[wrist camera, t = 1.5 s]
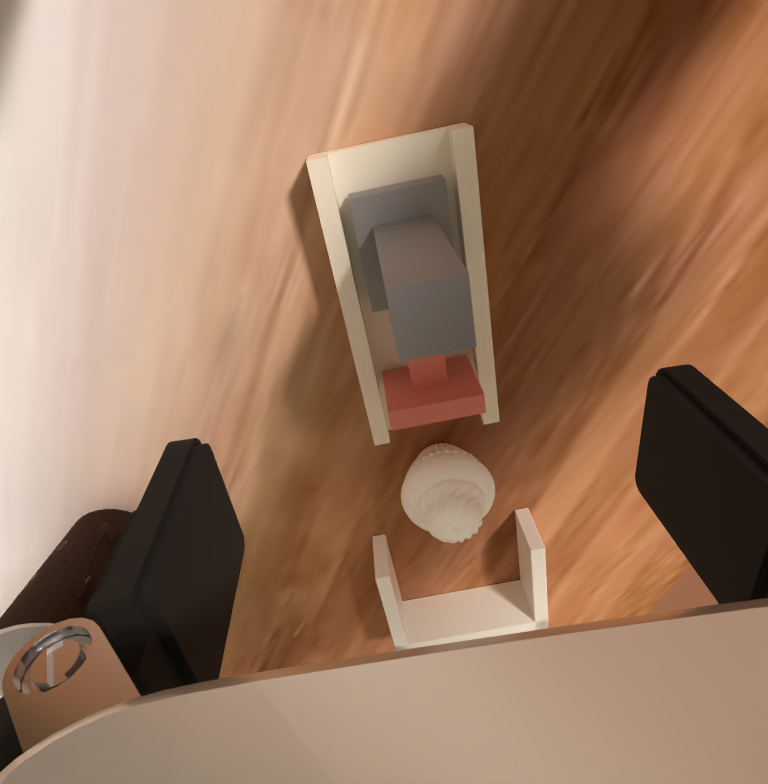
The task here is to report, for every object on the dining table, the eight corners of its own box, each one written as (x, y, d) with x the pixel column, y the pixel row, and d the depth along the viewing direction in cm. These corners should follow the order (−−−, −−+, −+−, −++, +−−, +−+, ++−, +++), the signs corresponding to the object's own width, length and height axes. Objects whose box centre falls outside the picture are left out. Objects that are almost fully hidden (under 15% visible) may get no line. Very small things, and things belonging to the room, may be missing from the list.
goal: (527, 507, 41) (545, 547, 37) (532, 585, 46) (548, 627, 42) (372, 536, 41) (375, 578, 38) (392, 610, 46) (397, 654, 42)
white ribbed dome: (412, 415, 36) (427, 485, 30) (496, 434, 37) (526, 504, 31) (384, 485, 39) (393, 561, 33) (463, 500, 40) (485, 576, 34)
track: (463, 122, 27) (473, 126, 25) (491, 403, 36) (499, 421, 34) (308, 155, 27) (305, 161, 25) (372, 425, 36) (374, 445, 34)
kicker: (444, 173, 27) (496, 223, 18) (468, 371, 33) (515, 481, 24) (343, 194, 27) (345, 254, 18) (385, 387, 33) (401, 503, 24)
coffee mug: (133, 596, 43) (82, 728, 34) (31, 543, 39) (-56, 675, 31) (229, 518, 39) (198, 642, 31) (125, 451, 36) (58, 571, 27)
